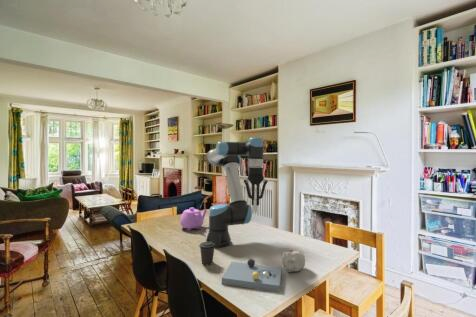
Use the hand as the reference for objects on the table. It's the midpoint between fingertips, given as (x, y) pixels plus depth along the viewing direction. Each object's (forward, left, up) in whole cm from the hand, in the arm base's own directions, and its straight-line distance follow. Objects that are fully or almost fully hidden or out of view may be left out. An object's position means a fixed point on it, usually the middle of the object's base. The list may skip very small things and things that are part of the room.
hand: (255, 211), depth 129 cm
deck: (+3, -22, -24) cm, 33 cm away
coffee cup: (-22, -13, -25) cm, 35 cm away
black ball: (+1, -17, -20) cm, 26 cm away
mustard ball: (+5, -28, -20) cm, 35 cm away
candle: (+20, -8, -25) cm, 33 cm away
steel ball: (+9, -22, -23) cm, 33 cm away
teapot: (-51, +38, -25) cm, 68 cm away
